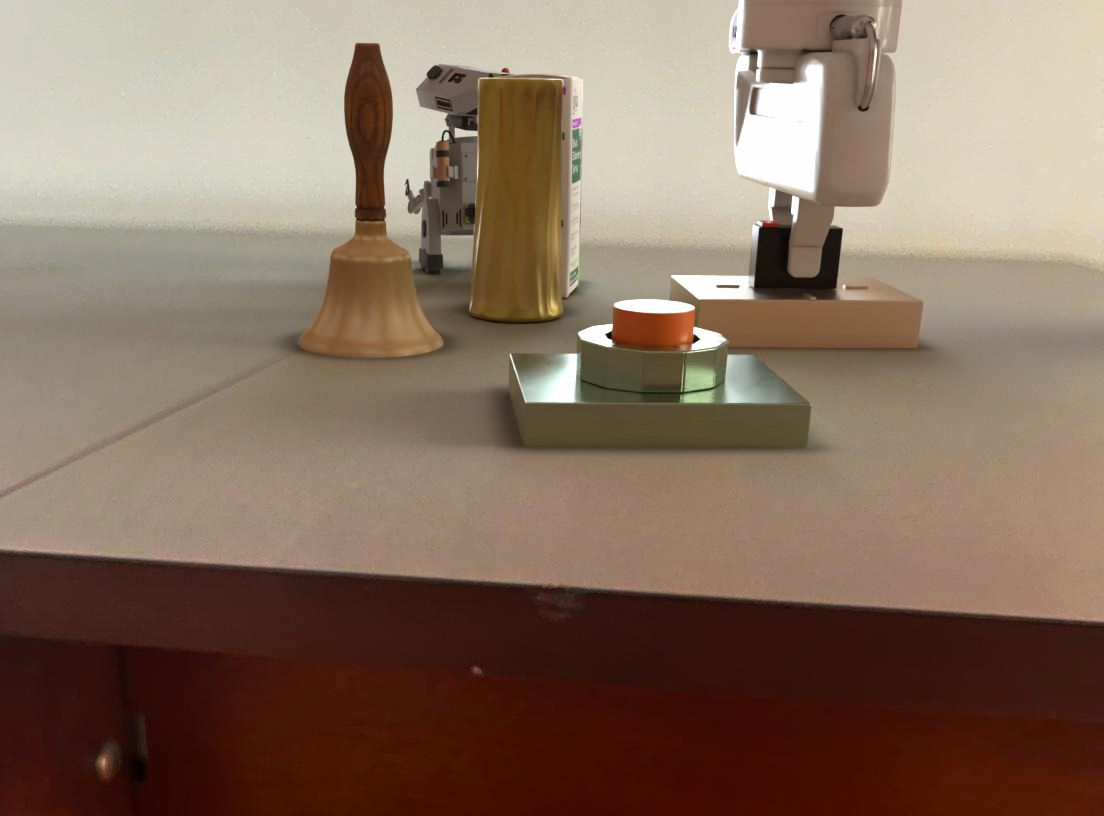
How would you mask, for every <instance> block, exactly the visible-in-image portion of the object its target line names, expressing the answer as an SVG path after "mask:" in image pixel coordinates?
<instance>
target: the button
mask: <svg viewBox="0 0 1104 816" xmlns="http://www.w3.org/2000/svg"><path fill="white" fill-rule="evenodd" d="M694 320H695V307H694V306H692V305H690V304H686V303H682V302H676V301H670V300H666V299H645V298H644V299H627V300H620V301H618V302H615V303H613V305H612V322H611V324H612V340H613V341H617V342H620V343H627V344H636V345H645V346H679V345H687V344H693V334H694Z"/></svg>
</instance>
